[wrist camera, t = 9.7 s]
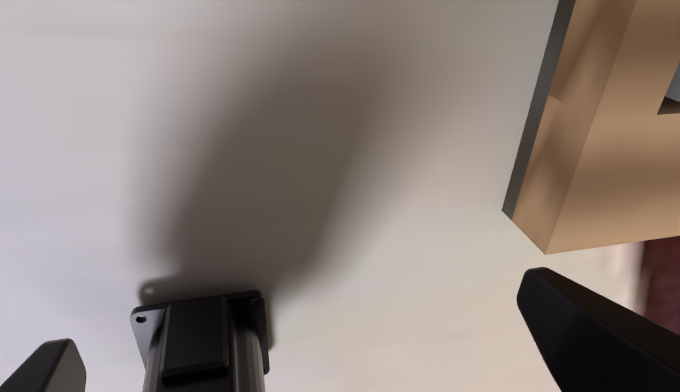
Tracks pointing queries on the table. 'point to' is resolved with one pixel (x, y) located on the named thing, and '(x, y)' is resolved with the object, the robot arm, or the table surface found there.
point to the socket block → (602, 129)
